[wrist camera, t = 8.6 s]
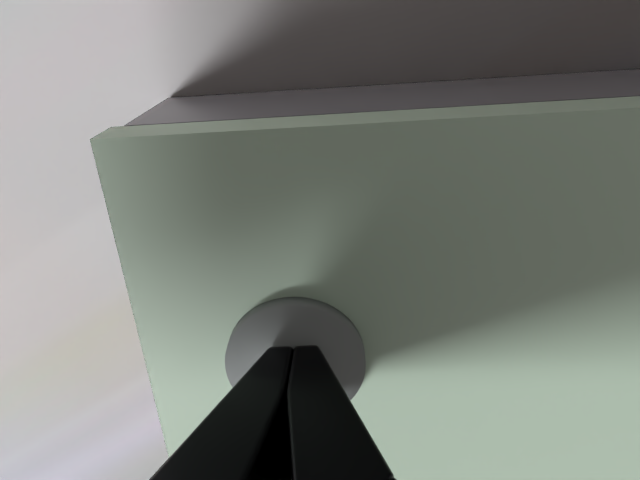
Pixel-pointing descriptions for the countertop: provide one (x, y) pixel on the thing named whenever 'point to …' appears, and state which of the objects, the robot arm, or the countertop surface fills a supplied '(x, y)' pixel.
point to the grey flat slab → (394, 97)
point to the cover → (400, 274)
